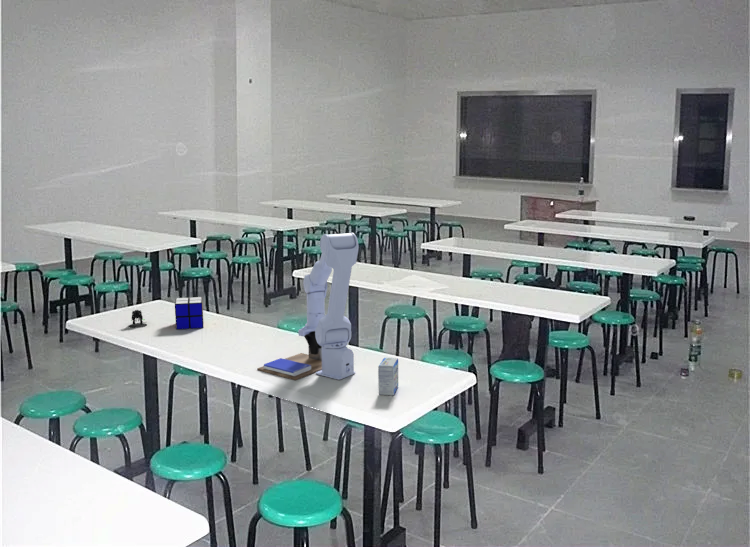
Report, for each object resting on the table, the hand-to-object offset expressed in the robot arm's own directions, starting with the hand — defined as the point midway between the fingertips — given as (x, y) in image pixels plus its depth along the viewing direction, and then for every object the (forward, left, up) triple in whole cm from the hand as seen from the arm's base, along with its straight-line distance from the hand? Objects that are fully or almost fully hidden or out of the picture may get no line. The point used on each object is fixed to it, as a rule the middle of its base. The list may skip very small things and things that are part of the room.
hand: (316, 352), depth 230 cm
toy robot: (+83, +9, -3) cm, 84 cm away
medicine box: (-35, +9, -3) cm, 36 cm away
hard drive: (0, +14, -2) cm, 14 cm away
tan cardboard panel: (0, +9, -2) cm, 9 cm away
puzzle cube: (+67, -3, -3) cm, 67 cm away
